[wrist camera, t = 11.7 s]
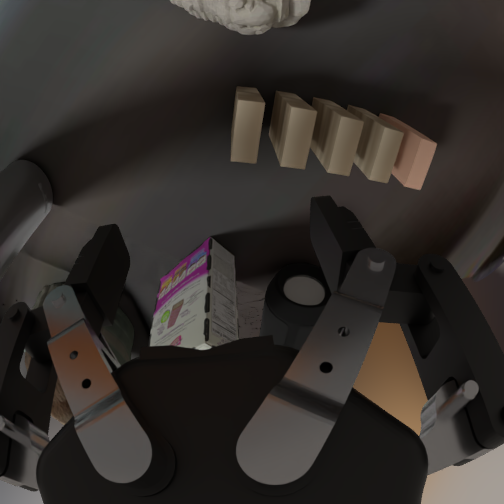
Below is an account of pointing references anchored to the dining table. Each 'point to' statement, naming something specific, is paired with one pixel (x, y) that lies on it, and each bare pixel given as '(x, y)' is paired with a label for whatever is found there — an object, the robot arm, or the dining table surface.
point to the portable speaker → (294, 304)
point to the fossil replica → (247, 13)
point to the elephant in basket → (117, 340)
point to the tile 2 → (291, 129)
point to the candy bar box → (198, 301)
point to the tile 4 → (376, 145)
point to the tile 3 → (335, 136)
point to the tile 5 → (411, 154)
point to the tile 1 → (246, 124)
